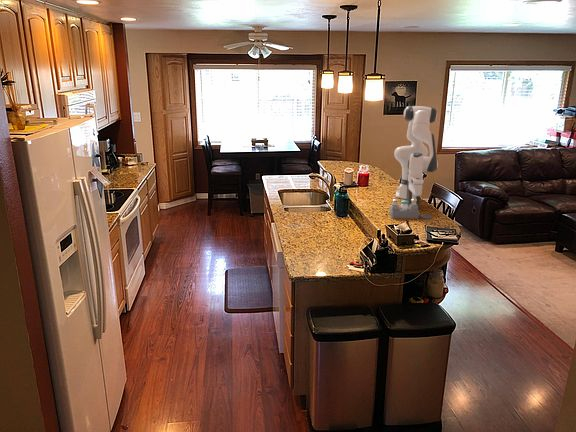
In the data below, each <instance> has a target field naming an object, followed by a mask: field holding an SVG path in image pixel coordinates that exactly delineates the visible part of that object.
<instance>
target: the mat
mask: <svg viewBox="0 0 576 432" xmlns="http://www.w3.org/2000/svg"><path fill="white" fill-rule="evenodd" d="M418 219H420V220H433V219H434V217H433V216H432V215H430V214H419V218H418Z"/></svg>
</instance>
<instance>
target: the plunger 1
mask: <svg viewBox="0 0 576 432" xmlns="http://www.w3.org/2000/svg"><path fill="white" fill-rule="evenodd" d="M398 202H399V199H398V198H392V204H393V206H397V204H398Z"/></svg>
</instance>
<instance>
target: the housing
mask: <svg viewBox="0 0 576 432" xmlns="http://www.w3.org/2000/svg"><path fill="white" fill-rule="evenodd" d="M388 215H389V216H390V218H391V219H395V220H397V219H420V218H419V215H420V209H418V205H417V204H416V206H411V204H409V207H408V210H401V206H400V205H399V204H398V203H397V206H393V203H391V204H390V206H389V213H388Z"/></svg>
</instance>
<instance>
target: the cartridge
mask: <svg viewBox="0 0 576 432" xmlns="http://www.w3.org/2000/svg"><path fill="white" fill-rule="evenodd" d="M400 207H401V210H408V201H407V200H406V199H403V200H401V201H400Z"/></svg>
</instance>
